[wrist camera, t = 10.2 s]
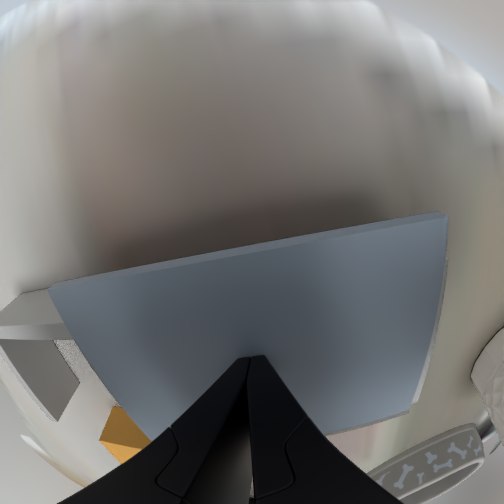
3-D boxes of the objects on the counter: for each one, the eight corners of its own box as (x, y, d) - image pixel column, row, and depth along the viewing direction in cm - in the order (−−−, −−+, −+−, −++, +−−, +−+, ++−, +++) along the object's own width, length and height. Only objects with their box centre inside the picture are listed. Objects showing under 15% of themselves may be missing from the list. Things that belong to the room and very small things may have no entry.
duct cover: (403, 405, 10) (407, 415, 10) (159, 438, 11) (156, 447, 11) (437, 210, 7) (449, 217, 6) (55, 282, 8) (46, 291, 7)
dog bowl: (380, 496, 27) (386, 521, 22) (330, 481, 22) (336, 519, 17) (475, 443, 23) (487, 467, 18) (471, 405, 18) (491, 441, 13)
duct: (391, 351, 14) (417, 401, 10) (72, 382, 16) (50, 420, 12) (397, 217, 11) (448, 250, 7) (19, 289, 13) (-18, 321, 9)
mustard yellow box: (190, 439, 18) (183, 475, 15) (133, 433, 18) (123, 465, 15) (175, 411, 16) (165, 452, 13) (114, 405, 17) (99, 440, 13)
